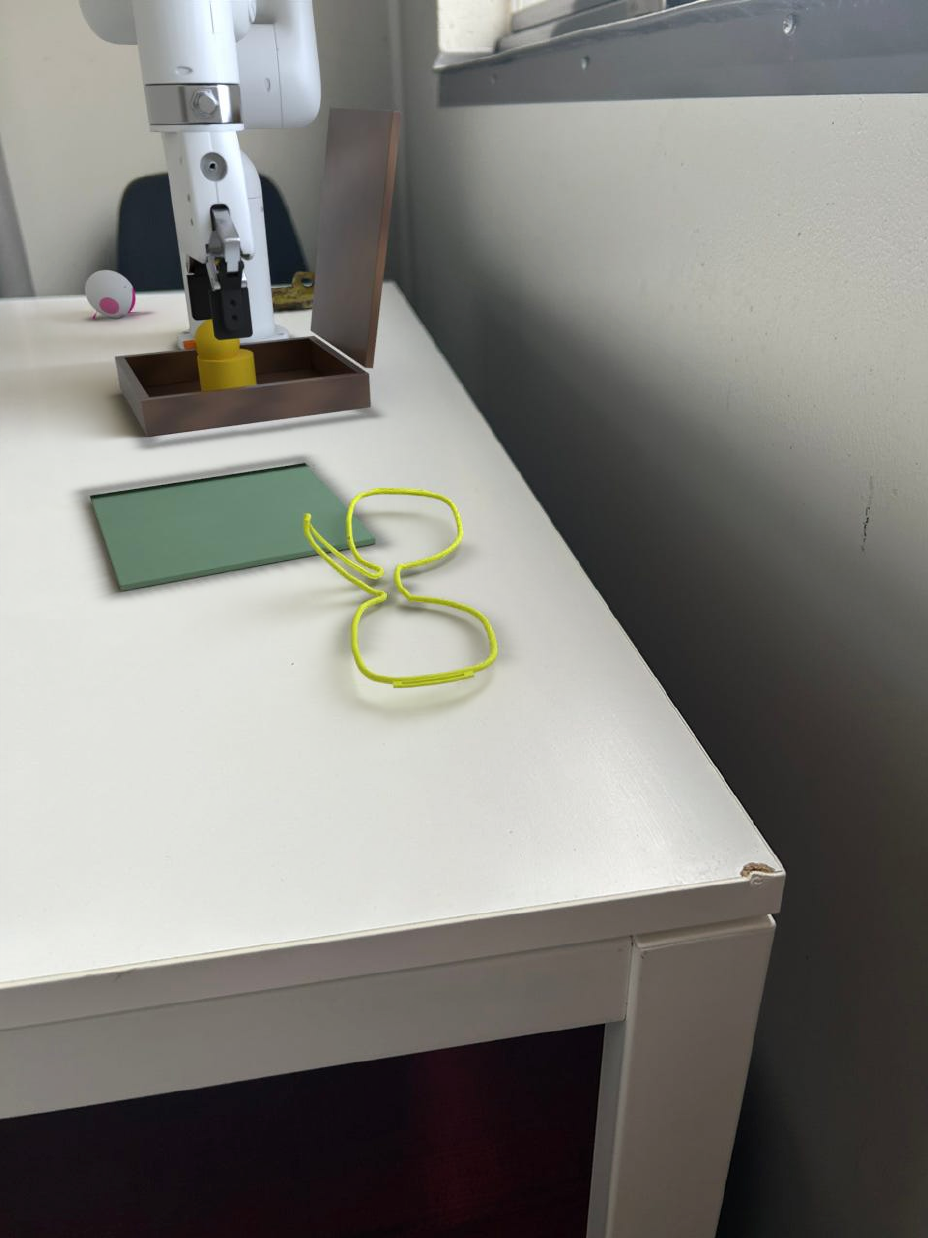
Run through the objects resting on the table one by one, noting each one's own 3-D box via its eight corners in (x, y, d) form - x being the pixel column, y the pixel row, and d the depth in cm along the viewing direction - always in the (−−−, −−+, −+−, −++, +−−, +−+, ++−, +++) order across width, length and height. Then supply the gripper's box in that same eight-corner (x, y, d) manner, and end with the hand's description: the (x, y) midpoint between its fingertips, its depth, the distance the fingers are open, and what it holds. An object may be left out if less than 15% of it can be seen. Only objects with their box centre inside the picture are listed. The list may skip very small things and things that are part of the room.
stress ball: (140, 345, 127) (163, 299, 126) (81, 315, 122) (104, 266, 121) (125, 332, 133) (147, 287, 132) (68, 303, 128) (90, 256, 126)
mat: (87, 491, 73) (86, 486, 73) (298, 459, 78) (297, 454, 78) (121, 591, 58) (119, 585, 58) (375, 543, 64) (375, 537, 64)
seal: (216, 322, 129) (332, 316, 131) (211, 285, 126) (329, 280, 128) (219, 300, 136) (328, 295, 138) (214, 265, 134) (325, 260, 136)
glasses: (509, 700, 48) (513, 614, 45) (304, 712, 47) (296, 625, 44) (452, 501, 69) (453, 435, 67) (311, 506, 68) (306, 440, 66)
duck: (250, 388, 94) (242, 310, 91) (263, 401, 90) (255, 321, 87) (187, 396, 92) (175, 316, 88) (197, 410, 88) (186, 327, 84)
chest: (148, 446, 82) (141, 401, 80) (121, 395, 95) (114, 356, 93) (371, 415, 89) (369, 373, 87) (317, 372, 102) (314, 335, 100)
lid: (392, 109, 78) (402, 111, 79) (329, 106, 92) (337, 108, 92) (364, 367, 87) (373, 368, 87) (310, 330, 100) (317, 331, 100)
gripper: (267, 110, 74) (289, 342, 82) (219, 111, 88) (241, 309, 96) (166, 111, 71) (198, 351, 79) (132, 112, 85) (162, 315, 93)
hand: (221, 327), depth 88 cm, fingers open, 9 cm apart
